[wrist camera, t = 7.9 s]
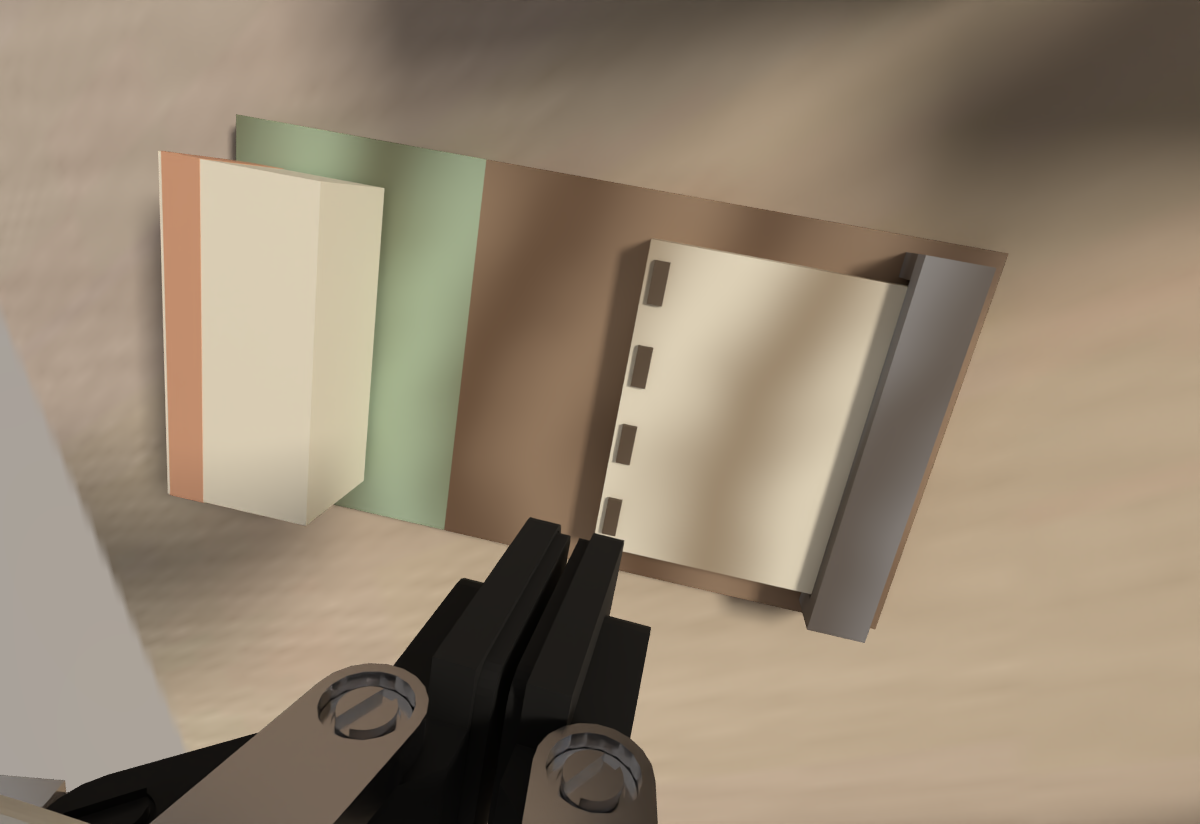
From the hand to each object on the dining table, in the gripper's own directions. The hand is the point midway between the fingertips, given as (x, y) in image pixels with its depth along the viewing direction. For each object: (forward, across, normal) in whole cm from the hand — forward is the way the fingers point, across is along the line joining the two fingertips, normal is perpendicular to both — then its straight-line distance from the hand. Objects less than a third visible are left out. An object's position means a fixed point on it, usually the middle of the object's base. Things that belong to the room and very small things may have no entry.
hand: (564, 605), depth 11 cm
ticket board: (+14, +3, 0) cm, 14 cm away
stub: (+12, +13, 0) cm, 18 cm away
